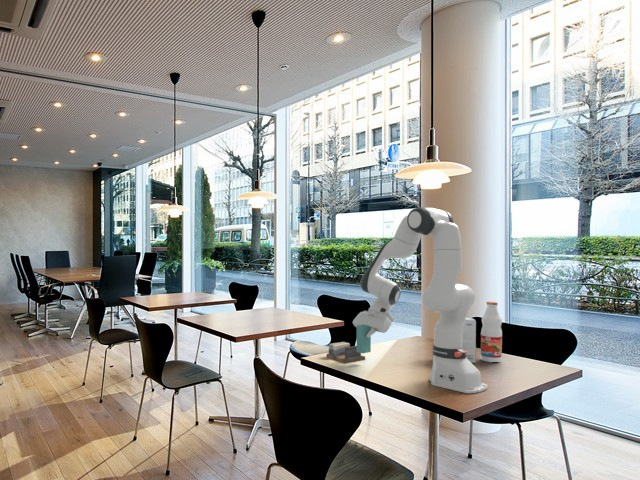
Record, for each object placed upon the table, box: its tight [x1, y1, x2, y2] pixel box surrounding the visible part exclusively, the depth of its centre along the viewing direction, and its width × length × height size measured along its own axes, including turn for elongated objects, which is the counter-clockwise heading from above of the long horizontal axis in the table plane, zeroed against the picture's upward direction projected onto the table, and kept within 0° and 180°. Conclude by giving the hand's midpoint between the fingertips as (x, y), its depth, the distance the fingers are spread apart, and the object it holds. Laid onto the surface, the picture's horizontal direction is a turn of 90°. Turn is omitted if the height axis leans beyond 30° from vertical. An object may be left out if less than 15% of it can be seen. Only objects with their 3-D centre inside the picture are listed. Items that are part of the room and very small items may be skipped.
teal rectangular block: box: [356, 324, 372, 354], centre depth 209 cm, size 4×5×12 cm
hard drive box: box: [463, 317, 477, 364], centre depth 218 cm, size 16×8×20 cm, turn 84°
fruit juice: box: [480, 300, 503, 363], centre depth 220 cm, size 9×9×28 cm
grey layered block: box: [326, 341, 366, 364], centre depth 218 cm, size 14×12×6 cm
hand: (362, 336), depth 208 cm, fingers closed on teal rectangular block, 4 cm apart
